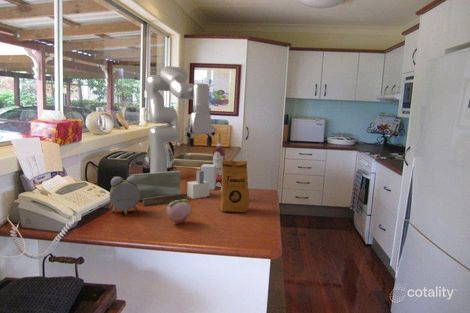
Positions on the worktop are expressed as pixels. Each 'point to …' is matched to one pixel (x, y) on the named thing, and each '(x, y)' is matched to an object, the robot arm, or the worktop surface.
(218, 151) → the liquor
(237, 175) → the coffee package
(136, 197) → the alarm clock
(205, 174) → the supplement box
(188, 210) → the decorative fruit
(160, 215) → the worktop surface
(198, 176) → the white block gray post
